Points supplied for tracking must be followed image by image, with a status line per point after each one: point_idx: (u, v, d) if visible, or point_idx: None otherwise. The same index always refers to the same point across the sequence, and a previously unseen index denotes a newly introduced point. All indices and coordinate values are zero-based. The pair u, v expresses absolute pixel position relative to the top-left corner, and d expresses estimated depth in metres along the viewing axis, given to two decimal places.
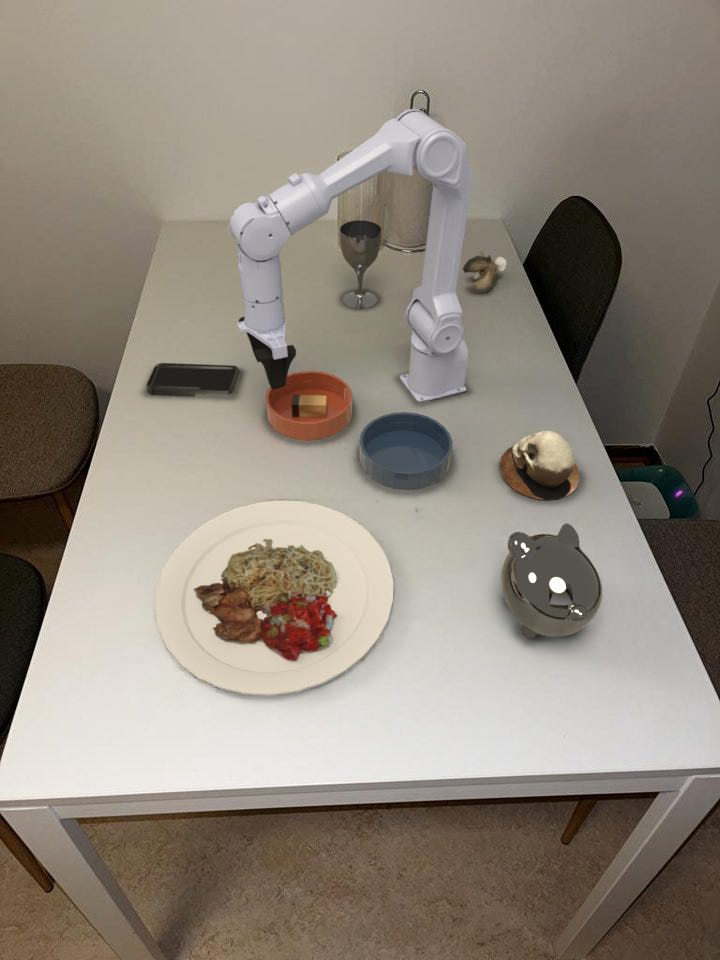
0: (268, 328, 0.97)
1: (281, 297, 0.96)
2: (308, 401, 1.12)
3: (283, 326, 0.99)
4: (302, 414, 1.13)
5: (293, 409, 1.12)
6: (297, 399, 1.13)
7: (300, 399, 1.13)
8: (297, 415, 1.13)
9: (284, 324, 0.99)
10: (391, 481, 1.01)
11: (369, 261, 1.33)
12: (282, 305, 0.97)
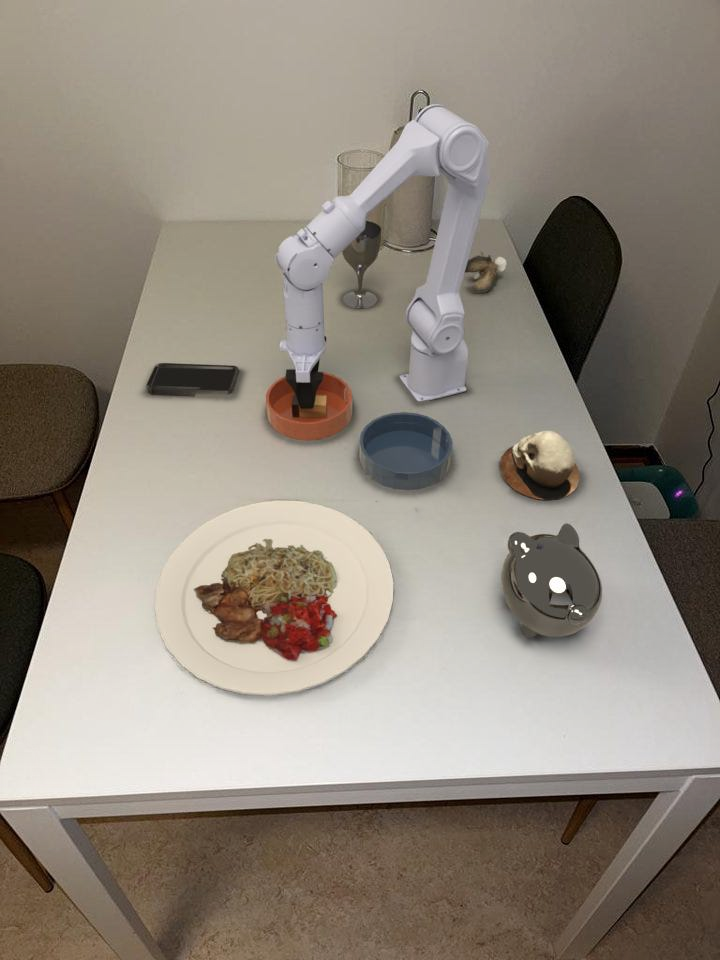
0: (302, 352, 1.03)
1: (319, 326, 1.01)
2: None
3: (318, 353, 1.03)
4: (302, 414, 1.13)
5: (293, 409, 1.12)
6: None
7: None
8: (297, 415, 1.13)
9: (320, 351, 1.04)
10: (391, 481, 1.01)
11: (369, 261, 1.33)
12: (320, 334, 1.02)
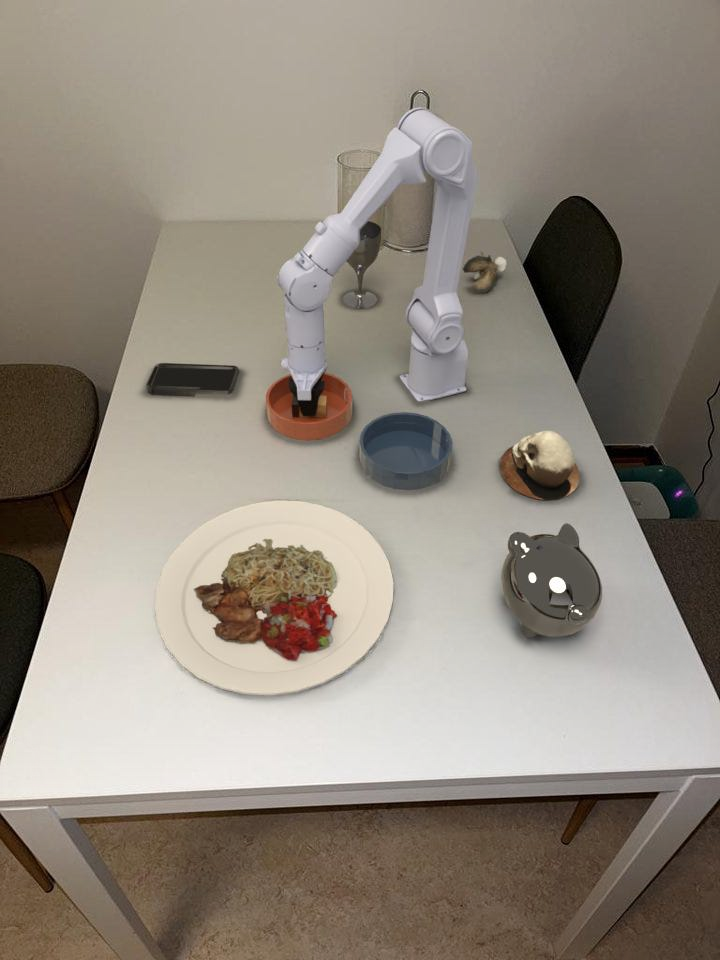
0: (303, 370, 1.05)
1: (320, 345, 1.03)
2: None
3: (319, 371, 1.06)
4: None
5: (293, 409, 1.12)
6: None
7: None
8: (297, 415, 1.13)
9: (321, 369, 1.06)
10: (391, 481, 1.01)
11: (369, 261, 1.33)
12: (321, 352, 1.04)
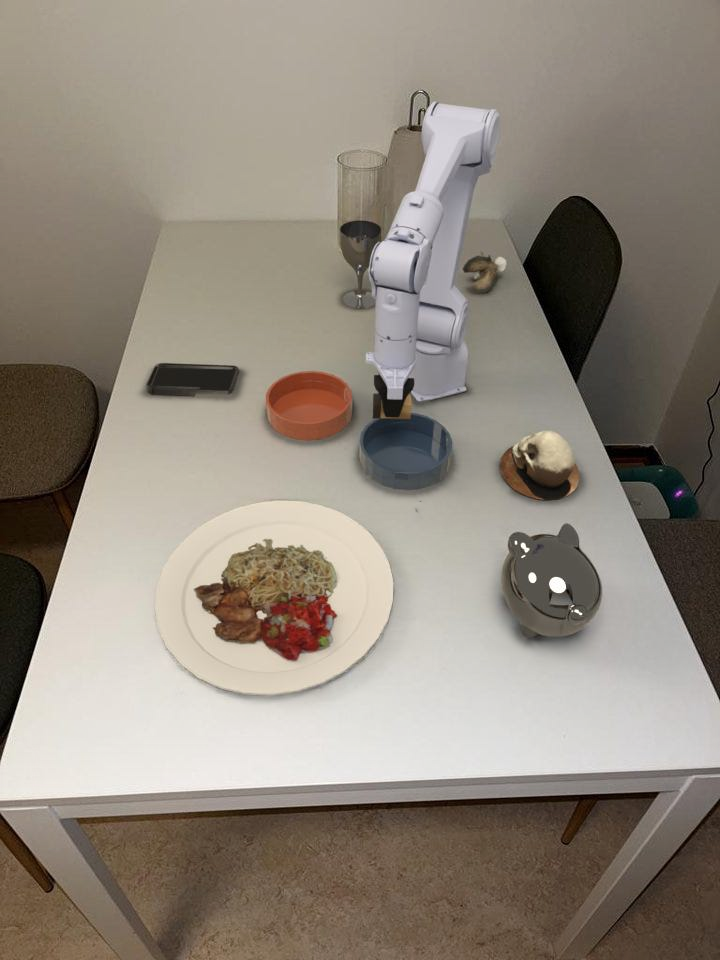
0: (392, 365, 0.93)
1: (413, 337, 0.91)
2: None
3: (409, 367, 0.94)
4: (384, 415, 1.01)
5: (374, 409, 1.00)
6: (379, 398, 1.01)
7: None
8: (378, 416, 1.01)
9: (411, 365, 0.94)
10: (391, 481, 1.01)
11: (369, 261, 1.33)
12: (413, 345, 0.92)
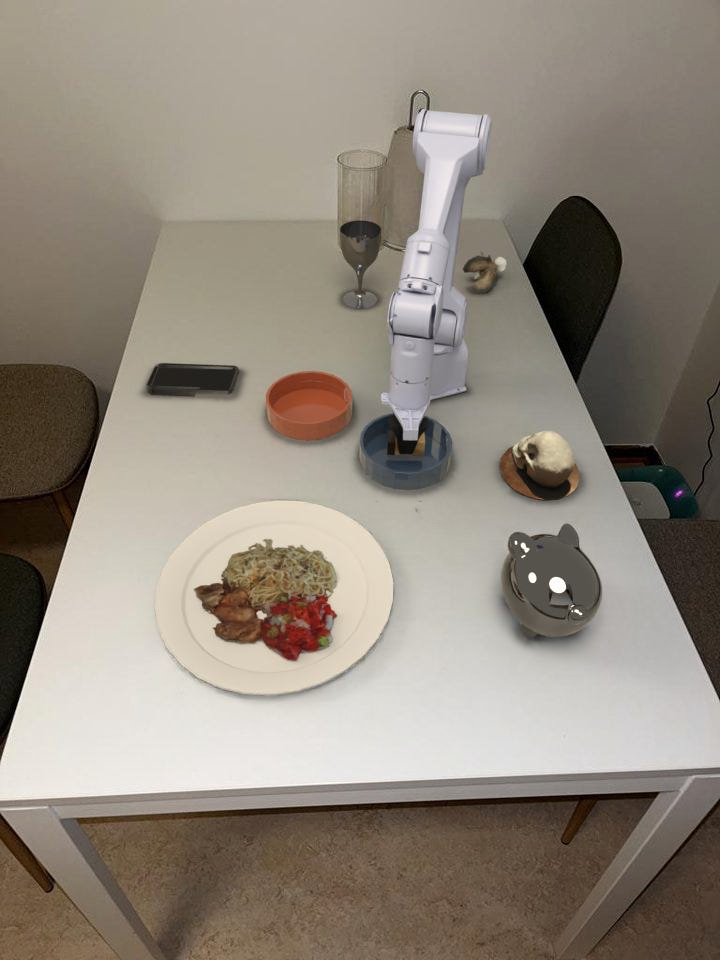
0: (407, 406, 0.96)
1: (427, 380, 0.94)
2: None
3: (424, 407, 0.97)
4: (398, 452, 1.04)
5: (389, 446, 1.03)
6: (393, 436, 1.04)
7: None
8: (392, 452, 1.04)
9: (426, 406, 0.97)
10: (391, 481, 1.01)
11: (369, 261, 1.33)
12: (427, 387, 0.95)
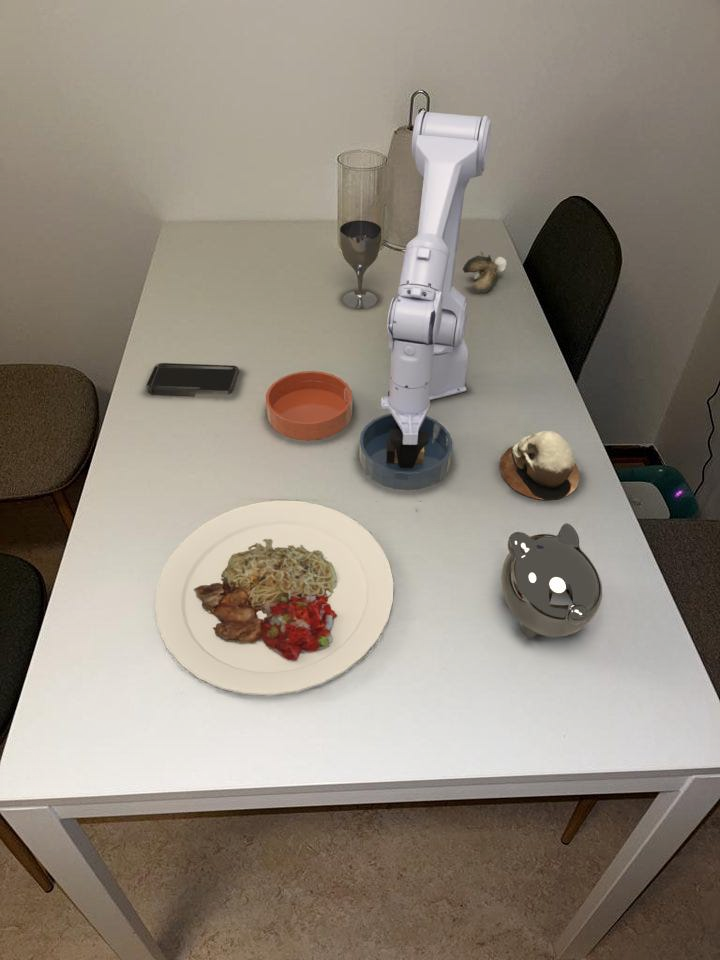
0: (407, 411, 0.97)
1: (427, 385, 0.95)
2: None
3: (423, 412, 0.97)
4: (397, 460, 1.05)
5: (388, 455, 1.04)
6: None
7: None
8: (392, 461, 1.05)
9: (425, 410, 0.97)
10: (391, 481, 1.01)
11: (369, 261, 1.33)
12: (427, 392, 0.96)
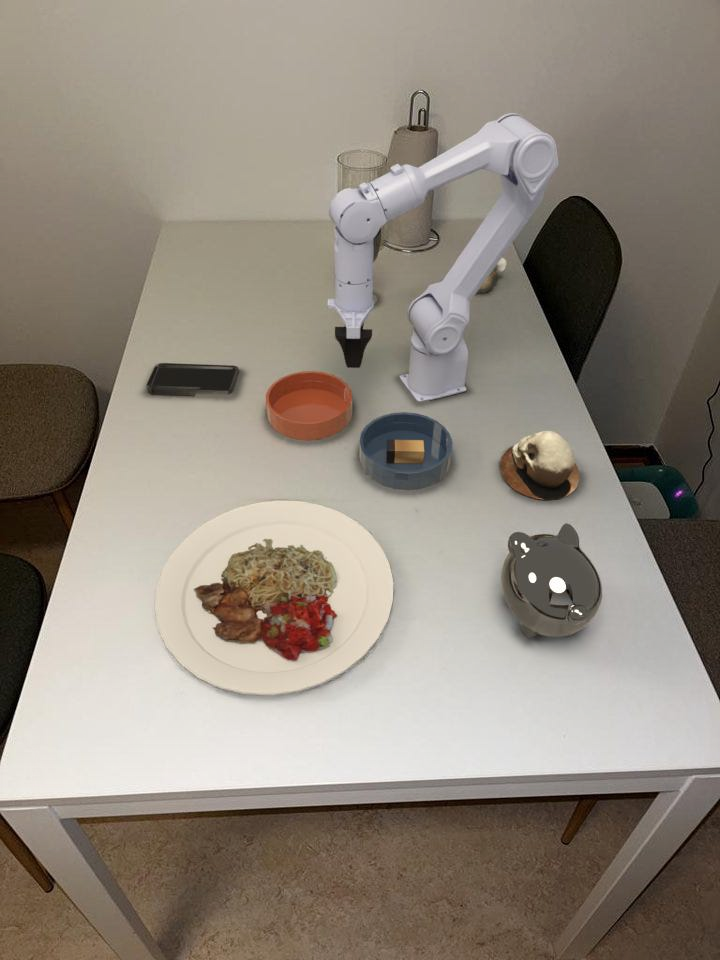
0: (351, 308, 1.03)
1: (369, 282, 1.01)
2: (404, 447, 1.04)
3: (367, 310, 1.03)
4: (397, 460, 1.05)
5: (388, 455, 1.04)
6: (392, 444, 1.05)
7: (396, 444, 1.05)
8: (392, 461, 1.05)
9: (368, 308, 1.04)
10: (391, 481, 1.01)
11: None
12: (369, 290, 1.02)
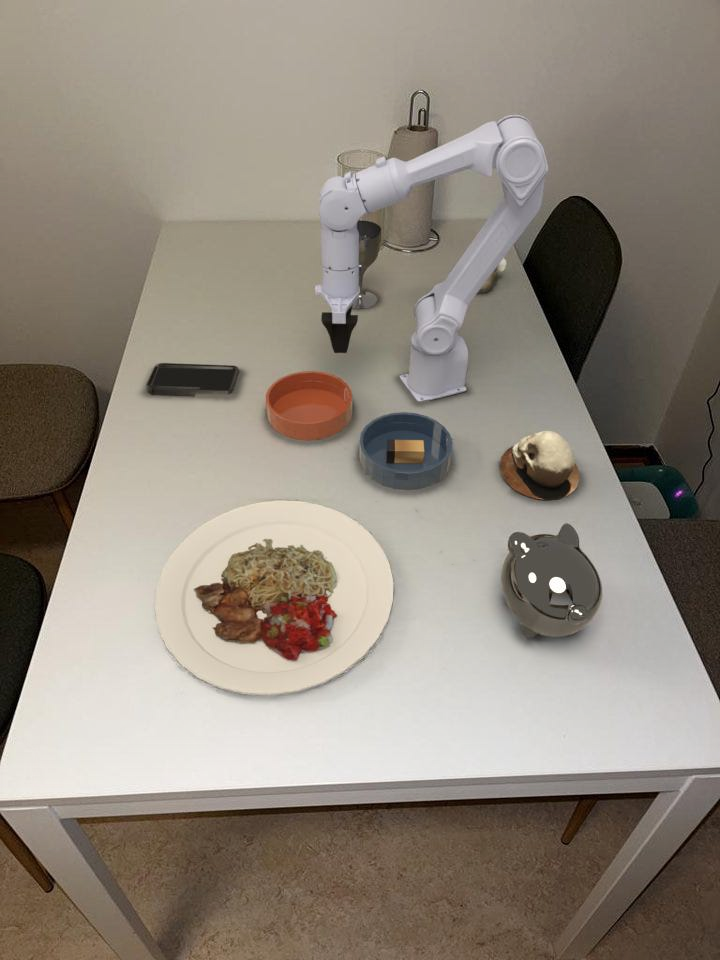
0: (337, 294, 1.06)
1: (354, 269, 1.04)
2: (404, 447, 1.04)
3: (353, 296, 1.06)
4: (397, 460, 1.05)
5: (388, 455, 1.04)
6: (392, 444, 1.05)
7: (396, 444, 1.05)
8: (392, 461, 1.05)
9: (354, 295, 1.07)
10: (391, 481, 1.01)
11: (369, 261, 1.33)
12: (355, 276, 1.05)
